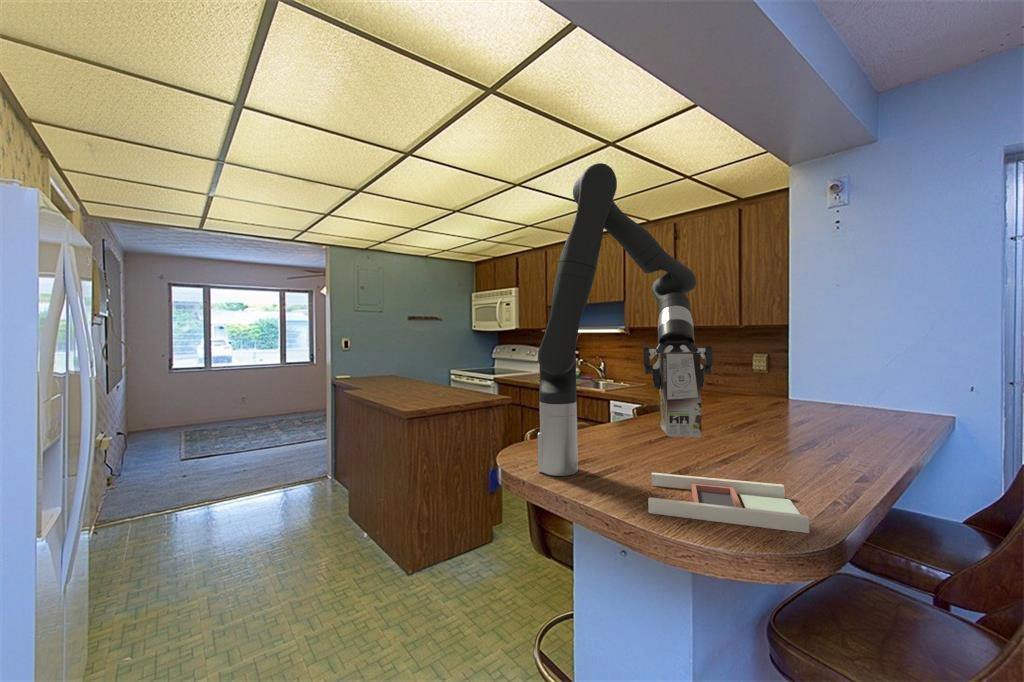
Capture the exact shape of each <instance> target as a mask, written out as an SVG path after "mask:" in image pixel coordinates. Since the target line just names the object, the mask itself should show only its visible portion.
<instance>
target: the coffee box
mask: <svg viewBox="0 0 1024 682" xmlns="http://www.w3.org/2000/svg"><path fill="white" fill-rule="evenodd" d="M700 354H701V353H697V352H668V353H659V357H658V358H659V366H660V367H659V370H660V389H659V411H660V415H659V417H660V421H659V422H660V428H661V430H662V431H663V432H664V433H665V434H666V435H667V437H673V438H675V437H676V438H697V439H698V438H700V439H701V438H702V388H701V364H702V363H701V361H702V360H701V355H700Z"/></svg>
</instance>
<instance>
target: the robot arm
mask: <svg viewBox="0 0 1024 682" xmlns="http://www.w3.org/2000/svg"><path fill="white" fill-rule="evenodd" d="M617 180H618V179H617V176H616V173H615V171H614V169H613V168H612V167H611V166H609V165H608V164H606V163H599V162H598V163H594V164H592V165H590V166H588V167H587V168H586V169H585V170H584V171H583V172H582V173H581V174H580V175H579V176H578V178H577V179H576V181H575V182H574V184H573V188H572V196H573V199H574V201H575V203H576V205H577V208H576V214H575V218H574V221H573V224H572V227H571V229H570V230H569V234H568V236H567V239H566V240H565V243H564V246H563V247H562V251H561V253H560V256H559V261H558V264H557V270H556V274H555V280H554V285H553V290H552V297H551V298H552V299H551V306H550V308H551V309H550V315H549V319H548V322H547V326H546V328H545V331H544V335H543V337H542V340H541V342H540V346H539V348H538V351H537V360H538V364H539V392H538V394H539V396H538V397H539V432H538V433H537V470H538V471H537V472H538V473H544V474H545V475H547V476H548V475H549V476H555V477H557V476H558V477H561V476H562V477H563V476H564V477H565V476H572V475H576V474H577V473H578V471H579V460H578V459H579V457H578V455H579V454H578V453H579V452H578V451H579V450H578V416H577V415H578V410H577V409H578V406H577V404H578V403H577V395H578V394H577V364H576V363H577V358H576V356H577V353H576V352H577V351H576V349H577V342H578V335H579V328H580V323H581V319H582V316H583V313H584V311H585V308H586V306H587V303H588V301H589V297H590V295H591V290H592V287H593V284H594V281H595V280H594V279H595V276H596V272H597V266H598V261H599V256H600V251H601V247H602V241H603V235H604V231H606V232H608V234H610V236H611V237H612V238H613V239H615V240H616V241H617V243H619V245H620V247H622V248H623V249H624V250H625V252H626V253H627V254H628V255H629V256H630V258H631V259H632V260H633V261H634V263H635V264H636V265H637V266H638V267H639V269H640V270H641V271H642V272H643V273H644V274H648V275H649V274H652V273H655V272H658V271H664V272H666V273H665V274H663V275H661V276H660V277H658V278H657V279H655V280H654V282H653V284H652V285H651V292H652V294H653V296H654V298H655V300H656V302H657V305H658V322H657V344H658V345H657V346H656V348H650V347H649V346H644V347H643V348H642V349H643V351H642V353H643V354H642V355H643V369H644V374H646V375H652V385H653V387H654V388H656V390H660V370H659V367H660V366H659V353H668V352H697V353H701V354H700V358H702V359H703V360H704V362H705V363H704V364H702V363H701V389H702V388H704V387H705V376H704V375H711V374H713V365H714V364H713V363H714V361H713V347H712V346H711V345H710V344H708V345H705V347H698V346H697V345H696V343H695V331H694V330H695V329H694V322H693V321H694V320H693V317H692V313H691V302H690V299H689V298H688V296H687V294H688V293H689V292H691V291H693V290H694V289H695V288H696V286H697V278H696V275H695V274H694V272H693V271H692V270H691V269H690V268H689V267H687V266H686V265H685V264H683V263H682V262H680V261H678V260H677V259H675V258H674V257H672V256H671V255H670V254H669V253H668V252H667V251H665V250H664V248H663V246H662V245H660V243H659V242H658V241H657V240H656V239H655V237H654V236H653V235H652V234H651V233H650V232H649V231H648V230H647V229H646V228H644V227H643V226H642V225H640V224H638V223H637V222H636V221H634V220H633V219H631V218H630V217H629V216H628V215H627V214H625V213H624V212H623V211H622V210H621V209H620V207H619V206H618V205H617V204H616V202H615V201H614V199H615V195H616V192H617V190H618V181H617ZM655 356H657V361H656V362H655V363H654V364H653V365H652V364H651V363H650V362H651V360H652V359H653V358H654V357H655Z"/></svg>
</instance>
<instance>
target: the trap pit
mask: <svg viewBox="0 0 1024 682" xmlns="http://www.w3.org/2000/svg"><path fill="white" fill-rule="evenodd" d="M691 496H692V502H695V503H704V504H713V505H722V506H731V507H740V508H743V506H742V505H743V504H742V503H741V500H740V498H739V496H738V494H736V491H735V489H734V487H724V486H713V485H703V484H693V483H691Z"/></svg>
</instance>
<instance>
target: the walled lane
mask: <svg viewBox="0 0 1024 682" xmlns="http://www.w3.org/2000/svg"><path fill="white" fill-rule="evenodd" d="M691 483H693V484H703V485H713V486H724V487H734V489H735V491H736V494H737V495H739V496H740V494H742V495H752V496H762V497H771V498H781V499H786V497H785V496H786V495H785V494H786V493H785V485H784V484H781V483H780V484H779V483H769V482H757V481H747V480H746V481H745V480H739V479H738V480H735V479H728V478H727V479H726V478H713V477H705V476H704V477H703V476H696V475H695V476H693V475H682V474H681V475H680V474H671V473H661V472H651V486H654V487H664V488H670V489H671V488H672V489H681V490H691ZM647 501H648V502H647V503H648V506H647V507H648V514H652V515H663V516H670V517H675V518H677V517H678V518H685V519H693V520H702V521H708V522H716V523H717V522H718V523H725V524H733V525H740V526H748V527H757V528H758V527H759V528H765V529H772V530H773V529H774V530H778V531H779V530H782V531H789V532H794V533H795V532H797V533H798V532H799V533H805V534H810V517H809V516H808V515H807V514H801V513H800V514H793V513H784V512H775V511H766V510H757V509H748V508H745V507H742V508H740V507H731V506H722V505H713V504H704V503H695V502H693V501H685V500H676V499H667V498H661V497H660V498H658V497H648V499H647Z"/></svg>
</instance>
